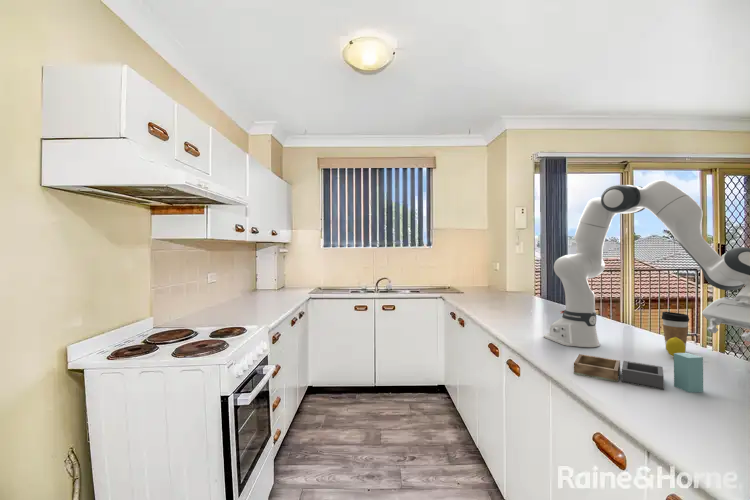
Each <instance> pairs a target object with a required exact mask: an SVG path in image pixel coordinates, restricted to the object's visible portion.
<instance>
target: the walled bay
mask: <svg viewBox="0 0 750 500" xmlns="http://www.w3.org/2000/svg"><path fill="white" fill-rule="evenodd" d="M620 373H621V360H619V359H613V358H606V357H601V356H593V355H587V354H582V353H579V354H578V356H577V357H576V359H575V361H574V362H573V375H577V376H578V375H579V376H583V377H588V378H594V379H598V380H599V379H600V380H604V381H609V382H615V383H618V382H619V377H620Z"/></svg>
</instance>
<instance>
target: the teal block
mask: <svg viewBox="0 0 750 500" xmlns="http://www.w3.org/2000/svg"><path fill="white" fill-rule="evenodd" d="M673 386H674V387H675V388H677V389H679V390H682V391H684V392H686V393H690V394H691V393H704V357H702V356H699V355H696V354H693V353H689V352H685V353H674V357H673Z"/></svg>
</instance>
